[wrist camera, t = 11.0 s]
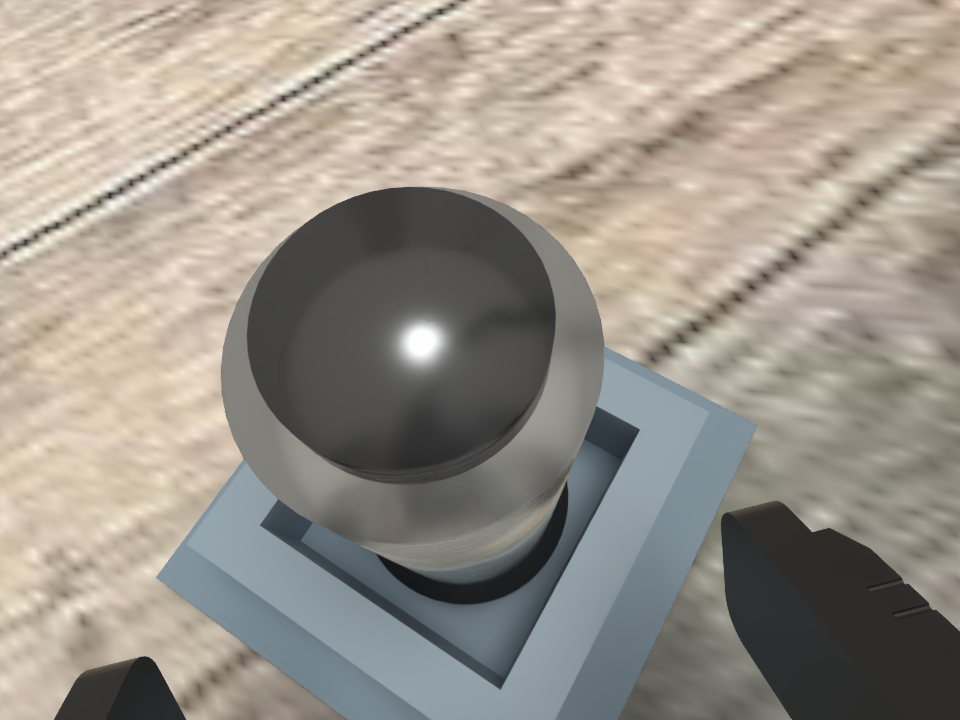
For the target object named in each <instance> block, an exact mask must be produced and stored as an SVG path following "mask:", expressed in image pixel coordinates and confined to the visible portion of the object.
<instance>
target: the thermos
mask: <svg viewBox="0 0 960 720" xmlns="http://www.w3.org/2000/svg"><path fill="white" fill-rule="evenodd" d="M603 372H604V339H603V331H602V324H601V319H600V316H599V312H598V309H597V305H596V302H595V299H594V296H593V294H592V292H591V290H590V288H589V285H588V283H587V281H586V279H585V277H584V275H583V274H582V272H581V271H580V269H579V267H578V266H577V264H576V263H575V261H574V260H573V258H572V257H571V256H570V255H569V254H568V252H567V251H566V250H565V249H564V248H563V246H562V245H561V244H560V243H559V242H558V241H557V240H556V239H555V238H554V237H553V236H552V235H551V234H549V233H548V232H547V231H546V230H545V229H544V228H543V227H541V226H540V225H539V224H537V223H536V222H534V221H533V220H532V219H530V218H529V217H527V216H526V215H524V214H522V213H521V212H519V211H517V210H515V209H513V208H511V207H510V206H508V205H506V204H503V203H501V202H498V201H496V200H493V199H490V198H488V197H485V196H481V195H478V194H474V193H470V192H467V191H461V190H455V189H448V188H438V187H401V188H389V189H384V190H378V191H372V192H369V193H365V194H362V195H359V196H355V197H352V198H350V199H348V200H345V201H343V202H340V203H338V204H336V205H334V206H332V207H330V208H328V209H327V210H325V211H323V212H321V213H319V214H318V215H317V216H315V217H314V218H312V219H311V220H309V221H308V222H307V223H305V224H304V225H303V226H301V227H300V228H298V229H297V230H296V231H294V232H293V233H292V234H291V235H289V236H288V237H287V238H286V239H285V240H284V241H283V242H282V243H280V244H279V245H278V246H277V247H276V248H275V249H274V250H273V251H272V253H271V254H270V255H269V256H268V257H267V258H266V259H265V260H264V261H263V263H262V264H261V265H260V266H259V268H258V269H257V271H256V272H255V273H254V275H253V276H252V278H251V279H250V280H249V282H248V284H247V285H246V287H245V289H244V291H243V293H242V295H241V297H240V298H239V300H238V302H237V304H236V307H235V310H234V312H233V315H232V317H231V320H230V323H229V326H228V330H227V334H226V338H225V342H224V346H223V355H222V365H221V383H222V396H223V402H224V407H225V413H226V417H227V420H228V423H229V426H230V429H231V432H232V435H233V438H234V440H235V442H236V444H237V446H238V448H239V450H240V452H241V454H242V456H243V458H244V459H245V461H246V462H247V464H248V465H249V467H250V468H251V469H252V471H253V472H254V473H255V475H256V476H257V478H258V479H259V480H260V481H261V482H262V483H263V484H264V485H265V486H266V487H267V489H268V490H269V491H270V492H271V493H272V494H273V495H274V496H275V497H276V498H277V499H279V500H280V501H281V502H283V503H284V504H285V505H287V506H288V507H289V508H291V509H292V510H293V511H295V512H296V513H297V514H299V515H301V516H303V517H305V518H306V519H308V520H310V521H312V522H314V523H316V524H317V525H319V526H321V527H323V528H325V529H327V530H329V531H331V532H333V533H335V534H338V535H340V536H342V537H344V538H346V539H348V540H350V541H352V542H354V543H356V544H358V545H360V546H362V547H364V548H366V549H368V550H370V551H372V552H375V553H376V555H377V556H378V558H379V560H380V561H381V562H382V563H383V565H384V566H385V567H386V569H387V570H388V571H389V572H390V573H391V574H392V575H393V576H394V577H395V578H396V579H397V580H399V581H400V582H401V583H403V584H404V585H405V586H407V587H408V588H410V589H411V590H413V591H415V592H417V593H419V594H420V595H423V596H426V597H428V598H431V599H433V600H437V601H441V602H446V603H450V604H457V605H479V604H484V603H489V602H493V601H496V600H499V599H502V598H505V597H507V596H509V595H511V594H513V593H514V592H516V591H518V590H519V589H521V588H522V587H524V586H525V585H526V584H528V583H529V582H530V581H531V580H532V579H533V578H534V577H535V576H536V575H537V574H538V573H539V572H540V571H541V569H542V568H543V567H544V566H545V565H546V563H547V562H548V560H549V559H550V557H551V555H552V554H553V552H554V550H555V549H556V547H557V545H558V543H559V540H560V538H561V536H562V533H563V530H564V526H565V523H566V518H567V512H568V485H567V478H568V476H569V473H570V471H571V468H572V466H573V464H574V461H575V459H576V456H577V454H578V452H579V449H580V447H581V444H582V442H583V440H584V437H585V435H586V432H587V430H588V428H589V425H590V423H591V420H592V418H593V416H594V412H595V409H596V405H597V402H598V399H599V395H600V392H601V386H602V379H603Z"/></svg>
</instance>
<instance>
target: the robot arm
mask: <svg viewBox="0 0 960 720" xmlns="http://www.w3.org/2000/svg"><path fill="white" fill-rule="evenodd" d="M721 533H722V548H723V563H724V578H725V593H726V601H727V606H728V610H729V614H730V617H731V620H732V622H733V625H734V627H735V630H736V632H737V634H738V636H739V638H740V640H741V642H742V643H743V645H744V647H745V648H746V650H747V651H748V653H749V654H750V656H751V657H752V659H753V661H754V662H755V664H756V665H757V667H758V668H759V670H760V671H761V673H762V674H763V676H764V677H765V679H766V681H767V682H768V684H769V685H770V687H771V688H772V690H773V691H774V693H775V694H776V696H777V697H778V699H779V701H780V702H781V704H782V705H783V707H784V708H785V710H786V711H787V713H788V714H789V716H790V717H791V719H792V720H960V631H959V630H957V629H956V628H955V627H954V626H953V625H952V624H951V623H950V622H949V621H948V620H947V619H946V618H945V617H943V616H942V615H941V614H940V613H939V612H938V611H937V610H932V609H931V608H930V606H929V603H928V602H927V601H926V600H925V599H924V598H923V597H922V596H921V595H920V594H919V593H918V592H917V591H915V590H914V589H913V588H912V587H911V586H910V585H909V584H906V585H905V584H904V583H903V581H902V578H901V577H900V576H899V575H898V574H897V573H896V572H895V571H894V570H893V569H892V568H891V567H890V566H888V565H887V564H886V563H885V562H884V561H883V560H882V559H881V558H880V557H879V556H878V555H877V554H876V553H874V552H873V551H872V550H871V549H870V548H868V547H866V546H864V545H862V544H860V543H858V542H856V541H854V540H852V539H850V538H848V537H846V536H844V535H842V534H840V533H838V532H836V531H834V530H832V529H830V528H828V529H824V530H820V531H816V532H811V531H810V530H809V528H808V527H807V526H806V525H805V524H804V523H803V522H802V521H801V520H800V519H799V518H798V517H797V516H796V515H795V514H794V513H793V512H792V511H791V510H790V509H789V508H788V507H787V506H786V505H784V504H783V503H781V502H779V501H772V502H768V503H764V504H760V505H756V506H752V507H748V508H744V509H740V510H736V511H732V512H728V513H725V514H724V515H723V516H722V520H721ZM54 720H186V719H185V717H184V715H183V713H182V711H181V709H180V707H179V705H178V704H177V702H176V700H175V698H174V696H173V694H172V692H171V691H170V689H169V687H168V685H167V683H166V681H165V679H164V677H163V676H162V674H161V672H160V670H159V668H158V666H157V665H156V663H155V662H154V661H153V660H152V659H151V658H149V657H146V656H144V657H138V658H134V659H130V660H126V661H122V662H118V663H114V664H110V665H106V666H102V667H98V668H94V669H90V670H87V671H85V672H84V673H82V674H81V675H80V676H79V677H78V678H77V680H76V681H75V683H74V684H73V686H72V688H71V690H70V692H69V693H68V695H67V697H66V699H65V701H64V702H63V704H62V706H61V708H60V710H59V712H58V713H57V715H56V717H55V719H54Z"/></svg>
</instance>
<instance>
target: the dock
mask: <svg viewBox="0 0 960 720" xmlns="http://www.w3.org/2000/svg"><path fill="white" fill-rule="evenodd" d="M756 428H757V424H755V423H753V422H751V421H749V420H747V419H745V418H743V417H741V416H739V415H737V414H735V413H733V412H731V411H729V410H727V409H725V408H723V407H721V406H720V405H718V404H716V403H714V402H712V401H710V400H708V399H706V398H704V397H702V396H700V395H698V394H696V393H694V392H692V391H690V390H688V389H686V388H684V387H682V386H680V385H678V384H677V383H675V382H673V381H671V380H669V379H667V378H665V377H663V376H661V375H659V374H657V373H655V372H653V371H651V370H649V369H647V368H645V367H643V366H641V365H639V364H637V363H636V362H634V361H632V360H630V359H628V358H626V357H624V356H622V355H620V354H618V353H616V352H614V351H612V350H610V349H608V348H606V347H604V372H603V379H602V386H601V392H600V395H599V399H598V402H597V405H596V409H595V412H594V416H593V418H592V420H591V423H590V425H589V428H588V430H587V432H586V435H585V437H584V440H583V442H582V444H581V447H580V449H579V452H578V454H577V456H576V459H575V461H574V464H573V466H572V468H571V471H570V473H569V476H568V478H567V485H568V512H567V518H566V523H565V526H564V530H563V533H562V536H561V538H560V540H559V543H558V545H557V547H556V549H555V550H554V552H553V554H552V555H551V557H550V559H549V560H548V562H547V563H546V565H545V566H544V567H543V568H542V569H541V571H540V572H539V573H538V574H537V575H536V576H535V577H534V578H533V579H532V580H531V581H530V582H529V583H528V584H526V585H525V586H524V587H522V588H521V589H519V590H518V591H516V592H514V593H513V594H511V595H509V596H507V597H505V598H502V599H499V600H496V601H493V602H489V603H484V604H479V605H457V604H450V603H446V602H441V601H437V600H433V599H431V598H428V597H426V596H423V595H420V594H419V593H417V592H415V591H413V590H411V589H410V588H408V587H407V586H405V585H404V584H403V583H401V582H400V581H399V580H397V579H396V578H395V577H394V576H393V575H392V574H391V573H390V572H389V571H388V570H387V569H386V567H385V566H384V565H383V563H382V562H381V561H380V560H379V558H378V556H377V555H376V553H375V552H372V551H370V550H368V549H366V548H364V547H362V546H360V545H358V544H356V543H354V542H352V541H350V540H348V539H346V538H344V537H342V536H340V535H338V534H335V533H333V532H331V531H329V530H327V529H325V528H323V527H321V526H319V525H317V524H316V523H314V522H312V521H310V520H308V519H306V518H305V517H303V516H301V515H299V514H297V513H296V512H295V511H293V510H292V509H291V508H289V507H288V506H287V505H285V504H284V503H283V502H281V501H280V500H279V499H277V498H276V497H275V496H274V495H273V494H272V493H271V492H270V491H269V490H268V489H267V487H266V486H265V485H264V484H263V483H262V482H261V481H260V480H259V479H258V478H257V476H256V475H255V473H254V472H253V471H252V469H251V468H250V467H249V465H248V464H247V462H246V461H245V459H244V460H243V461H242V462H241V464H240V465H239V466H238V468H237V469H236V470H235V472H234V473H233V474H232V476H231V477H230V479H229V480H228V481H227V483H226V484H225V485H224V487H223V488H222V489H221V491H220V492H219V493H218V495H217V496H216V497H215V499H214V500H213V501H212V503H211V504H210V505H209V507H208V508H207V510H206V511H205V512H204V514H203V515H202V516H201V518H200V519H199V520H198V522H197V523H196V524H195V526H194V527H193V528H192V530H191V531H190V532H189V534H188V535H187V536H186V538H185V539H184V540H183V542H182V543H181V545H180V546H179V547H178V549H177V550H176V551H175V553H174V554H173V555H172V557H171V558H170V559H169V561H168V562H167V563H166V565H165V566H164V567H163V569H162V570H161V571H160V573H159V574H158V576H157V577H156V578H157V579H159V580H160V581H161V582H163V583H164V584H165V585H167V586H168V587H169V588H171V589H172V590H173V591H175V592H176V593H177V594H179V595H180V596H181V597H183V598H184V599H185V600H187V601H188V602H189V603H191V604H192V605H193V606H195V607H196V608H198V609H199V610H200V611H202V612H203V613H204V614H206V615H207V616H208V617H210V618H211V619H212V620H214V621H215V622H216V623H218V624H219V625H220V626H222V627H223V628H224V629H226V630H227V631H228V632H230V633H231V634H232V635H234V636H235V637H236V638H238V639H239V640H240V641H242V642H243V643H244V644H246V645H247V646H248V647H250V648H251V649H253V650H254V651H255V652H257V653H258V654H259V655H261V656H262V657H263V658H265V659H266V660H267V661H269V662H270V663H271V664H273V665H274V666H275V667H277V668H278V669H279V670H281V671H282V672H283V673H285V674H286V675H287V676H289V677H290V678H291V679H293V680H294V681H295V682H297V683H298V684H299V685H301V686H302V687H303V688H305V689H306V690H308V691H309V692H310V693H312V694H313V695H314V696H316V697H317V698H318V699H320V700H321V701H322V702H324V703H325V704H326V705H328V706H329V707H330V708H332V709H333V710H334V711H336V712H337V713H338V714H340V715H341V716H342V717H344V718H345V719H346V720H618V719H619V717H620V715H621V713H622V711H623V709H624V707H625V704H626V702H627V700H628V698H629V696H630V694H631V692H632V690H633V688H634V685H635V683H636V681H637V679H638V677H639V675H640V673H641V671H642V669H643V666H644V664H645V662H646V660H647V658H648V656H649V654H650V652H651V649H652V647H653V645H654V643H655V641H656V639H657V637H658V635H659V633H660V630H661V628H662V626H663V624H664V622H665V620H666V618H667V616H668V614H669V611H670V609H671V607H672V605H673V603H674V601H675V599H676V597H677V595H678V592H679V590H680V588H681V586H682V584H683V582H684V580H685V578H686V575H687V573H688V571H689V569H690V567H691V565H692V563H693V561H694V559H695V556H696V554H697V552H698V550H699V548H700V546H701V544H702V542H703V540H704V537H705V535H706V533H707V531H708V529H709V527H710V525H711V523H712V521H713V518H714V516H715V514H716V512H717V510H718V508H719V506H720V504H721V501H722V499H723V497H724V495H725V493H726V491H727V489H728V487H729V485H730V482H731V480H732V478H733V476H734V474H735V472H736V470H737V468H738V466H739V463H740V461H741V459H742V457H743V455H744V453H745V451H746V449H747V447H748V444H749V442H750V440H751V438H752V436H753V434H754V432H755V430H756Z"/></svg>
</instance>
